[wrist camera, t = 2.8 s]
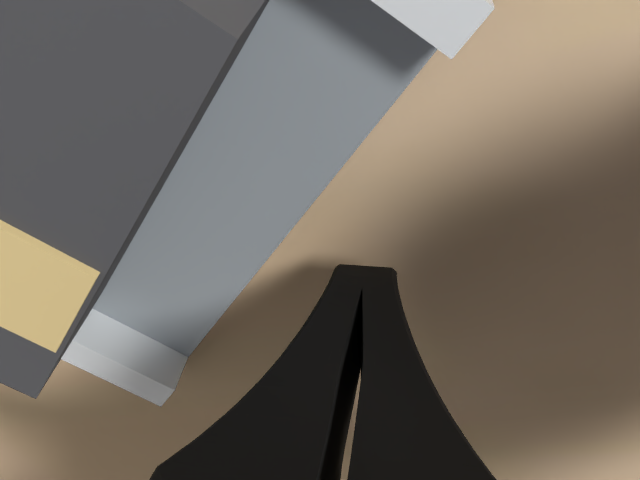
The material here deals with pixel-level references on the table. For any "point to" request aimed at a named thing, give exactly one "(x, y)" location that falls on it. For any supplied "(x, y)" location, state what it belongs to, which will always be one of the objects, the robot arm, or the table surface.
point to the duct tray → (257, 172)
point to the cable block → (92, 148)
